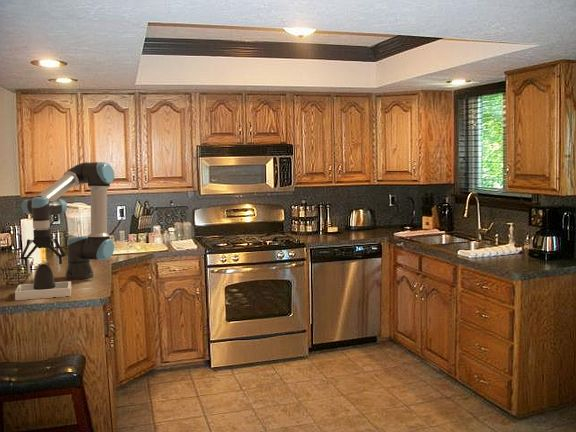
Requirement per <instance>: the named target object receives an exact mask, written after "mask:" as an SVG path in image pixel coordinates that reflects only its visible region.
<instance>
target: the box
mask: <svg viewBox="0 0 576 432" xmlns="http://www.w3.org/2000/svg"><path fill="white" fill-rule="evenodd" d="M66 296H69V297H71V296H72V281H71V280H70V281H58V282H57V281H55V289H45V290H34V289H33V283H24V284H18V286H17V287H16V289H15V291H14V300H15V301H25V300H26V301H29V300H41V298H42V299H52V298H53V297H56V298H67V297H66ZM28 299H29V300H28Z"/></svg>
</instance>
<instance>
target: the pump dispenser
mask: <svg viewBox="0 0 576 432" xmlns="http://www.w3.org/2000/svg"><path fill="white" fill-rule="evenodd" d="M35 270H36V271H35V273H34V277H33V280H32V282H33V283H32V284H33V289H34V290H45V289H55V282H56V281H55V280H56V279H55V277H54V276H55V275H54V273H53V270H52V269H51V267H50V266H49V265H48V264H47V263H41V264H39V263H38V267H36V269H35Z"/></svg>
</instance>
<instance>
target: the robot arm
mask: <svg viewBox="0 0 576 432" xmlns="http://www.w3.org/2000/svg"><path fill="white" fill-rule="evenodd" d="M114 180H115V171H114V169H113V167H112V166H111V164H110V163H108V162H102V161H97V162H94V161H93V162H81V163H79V164H76V165H74V166H72V167H70V168H69V169H67V170H66V171H64V173H63V175H62V176H61V177H60V178H59V179H58V180H56V181H54V182H52V184H51V185H49V186H48V187H47V188H45V189H44V190H43V191H41V192H40V193H38V194H37V195H36V196H34V197H32V198H28V199H24V200H23V201H22V202H21V211H22V212H23V213H24V214H26V215H27V214H28V215H32V229H33V231H32V232H33V239H29V238H28V239H27V240H26V246H25V248H23V249H24V250H23V251H22V253H21V256H20V260H24V266H25V268H27V274H31V265H30V264H31V263H30V259H29V258H30V257H31V255H33V253H34V252H35V251H36V249H47V248H48V249H49V250H51V251H52V252H53V253H54V254H55V256H57V271H58V272H61V267H60V265H62V264H63V263H62V262H63V258H64V257H66V252H65V251H64V250H63V248H62V246H61V245H60V243H59V240H58V237H55V238H51V229H50V228H51V223H50V216H54V215H55V216H58V215H62V214H65V213H66V211H68V205H67V201H65V200H64V199H63V198H62V199H61V196H63V195H64V194H65V193H67V192H68V191H69V190H71V189H72V188H75V187H78V186H79V185H81V184H87V188H89V189H90V233H89V234H88V235H81V236H74V237H70V238H68V239H67V241H66V242H67V243H66V248H67V249H66V251H67V267H66V271H65V274H64V276H65V277H64V278H65V280H74V281H75V280H85V279H90V278H93V277H94V271H93V267H92V266H91V261H108V260H109V259H110V258H111V257H112V256H113V254H114V251H115V243H114V241H113V240H112V239H111V236H110V234H109V233H108V189H109V188H110V187H111V186H110V184H111V183H114ZM52 242H53V243H54V244H55V246H56V247H57V249H58V250H57V249H55V247H53V245H52V244H51V243H52ZM32 243H33V244H34V246H33V247H32V248H31V250H30V251H29V252H28V254H26V253H27V251H28V249H29V246H30V245H31V244H32ZM58 251H59V252H58ZM25 255H26V256H25Z"/></svg>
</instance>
